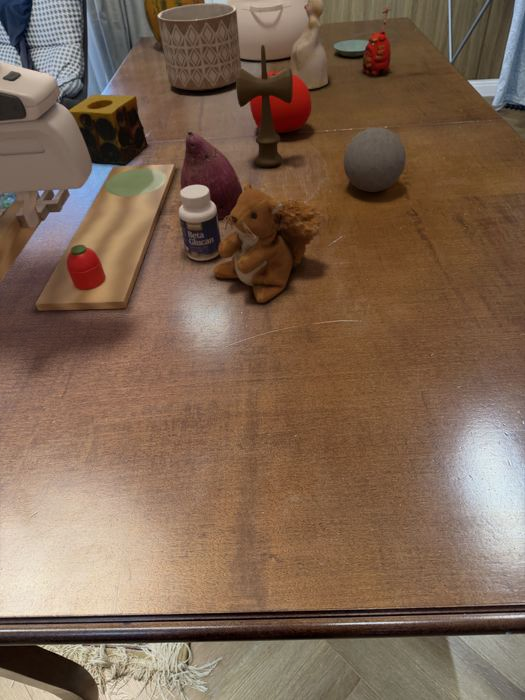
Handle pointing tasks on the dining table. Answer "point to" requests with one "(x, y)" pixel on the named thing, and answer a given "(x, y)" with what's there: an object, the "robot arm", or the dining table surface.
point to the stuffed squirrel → (266, 241)
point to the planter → (200, 45)
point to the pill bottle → (199, 223)
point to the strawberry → (85, 268)
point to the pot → (269, 27)
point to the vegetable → (210, 173)
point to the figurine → (310, 51)
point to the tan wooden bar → (9, 238)
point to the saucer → (351, 47)
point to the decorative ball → (374, 159)
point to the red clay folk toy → (377, 52)
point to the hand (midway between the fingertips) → (17, 226)
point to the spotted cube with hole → (110, 127)
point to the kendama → (265, 106)
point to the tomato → (286, 107)
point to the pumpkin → (157, 3)
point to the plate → (135, 174)
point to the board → (110, 245)
